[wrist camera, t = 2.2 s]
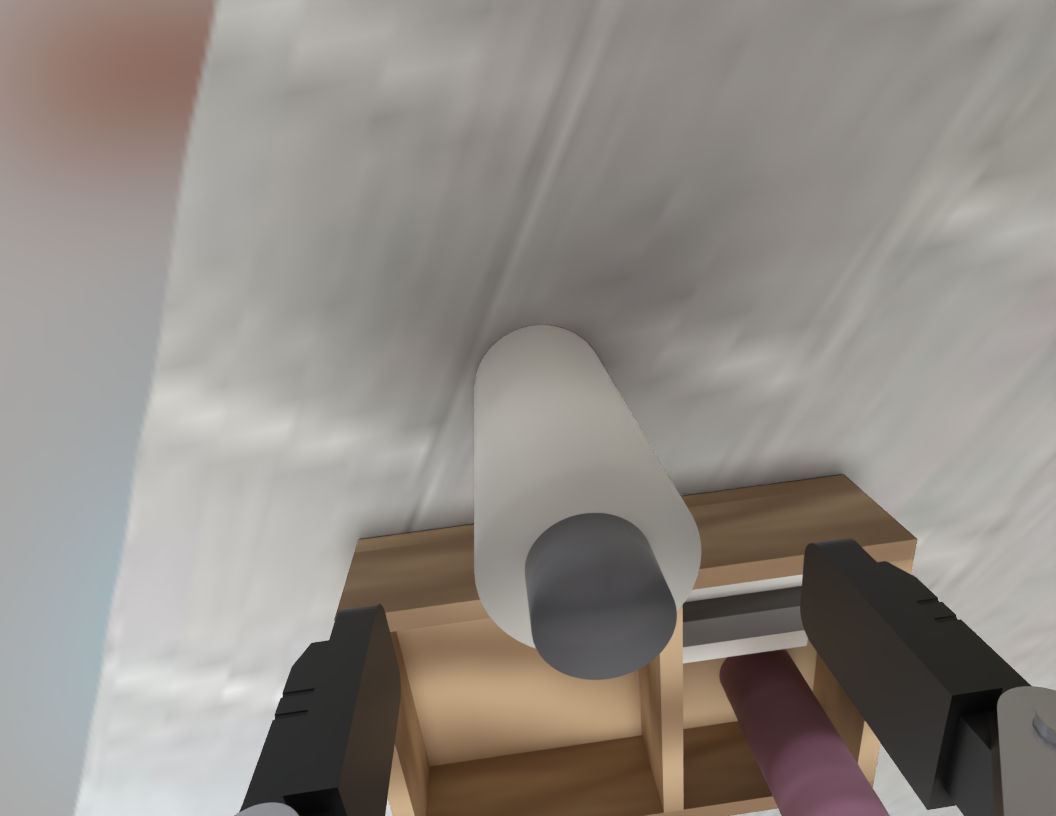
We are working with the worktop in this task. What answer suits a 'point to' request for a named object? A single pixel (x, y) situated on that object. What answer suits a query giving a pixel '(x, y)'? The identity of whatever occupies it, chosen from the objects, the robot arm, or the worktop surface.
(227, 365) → the worktop surface
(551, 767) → the caddy
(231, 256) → the worktop surface
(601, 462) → the bottle
